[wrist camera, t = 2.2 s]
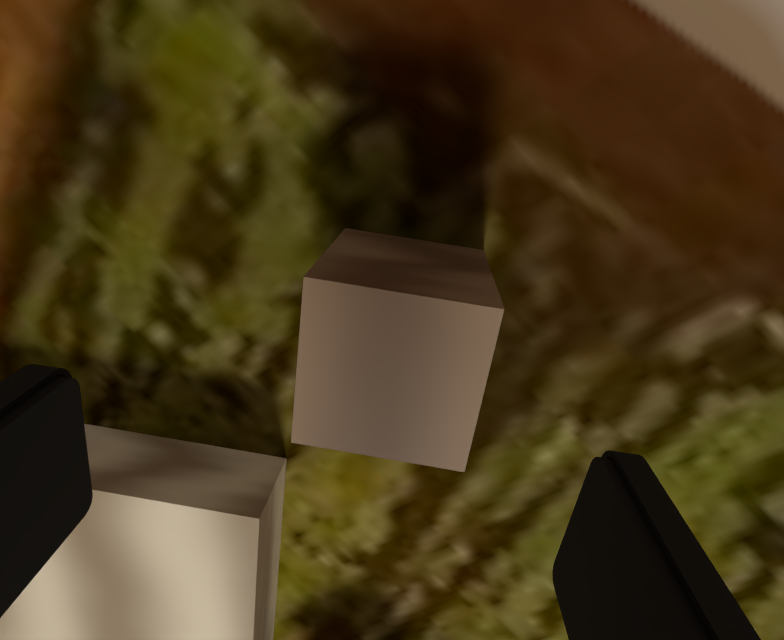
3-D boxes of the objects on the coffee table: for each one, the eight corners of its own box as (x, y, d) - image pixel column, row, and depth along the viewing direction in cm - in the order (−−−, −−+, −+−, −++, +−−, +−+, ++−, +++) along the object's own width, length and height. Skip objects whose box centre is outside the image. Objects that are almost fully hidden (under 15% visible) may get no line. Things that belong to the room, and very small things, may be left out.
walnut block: (483, 249, 18) (503, 309, 12) (456, 372, 20) (464, 471, 14) (345, 227, 18) (303, 276, 12) (332, 351, 20) (291, 442, 14)
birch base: (289, 452, 22) (259, 518, 19) (275, 634, 27) (249, 716, 23) (28, 408, 23) (-52, 464, 19) (58, 595, 27) (-2, 670, 23)
